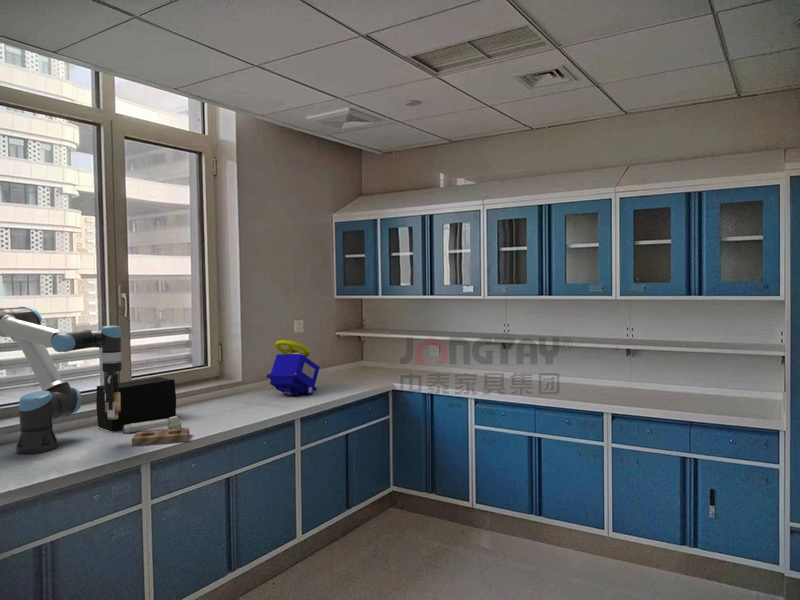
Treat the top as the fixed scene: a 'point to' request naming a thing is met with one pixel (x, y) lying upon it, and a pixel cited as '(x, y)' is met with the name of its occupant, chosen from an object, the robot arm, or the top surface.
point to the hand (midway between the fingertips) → (112, 415)
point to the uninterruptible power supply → (139, 402)
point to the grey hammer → (153, 425)
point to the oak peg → (117, 405)
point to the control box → (293, 369)
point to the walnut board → (160, 436)
